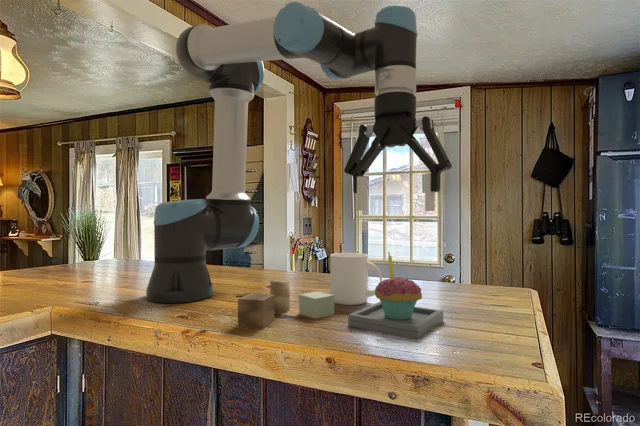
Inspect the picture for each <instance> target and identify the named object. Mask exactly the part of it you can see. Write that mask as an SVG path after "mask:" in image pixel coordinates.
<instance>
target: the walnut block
mask: <svg viewBox="0 0 640 426" xmlns="http://www.w3.org/2000/svg"><path fill="white" fill-rule="evenodd" d="M273 322H275V312H274V295H270V293H268V294H266V293H265V294H264V293H252V292H251V293H248V294H246V295H243V296H241V297H239V298H237V327H244V328H253V329H266V327H268V326H270V325H271V324H273Z"/></svg>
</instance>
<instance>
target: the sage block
mask: <svg viewBox="0 0 640 426" xmlns="http://www.w3.org/2000/svg"><path fill="white" fill-rule="evenodd" d="M298 297H299V298H298V299H299V300H298V301H299V302H298V305H299V306H298V307H299V311H298V313H299V314H300V315H302V316H306V317H309V318H311V319H320V318H324V317H330V316H334V315H335V303H334V295H331V294H330V293H326V292H323V291H318V290H317V291H313V292H305V293H302V294H301V293H299V295H298Z"/></svg>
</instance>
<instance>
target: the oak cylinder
mask: <svg viewBox="0 0 640 426" xmlns="http://www.w3.org/2000/svg"><path fill="white" fill-rule="evenodd" d="M290 282H291V281H290V280H289V279H288V280H287V279H274V280H270V283H269V284H270V286H269V289H270V290H269V295H274V313H277V314H278V313H280V314H281V313H287V311H288V312H289V311H290V301H291V300H290V299H291V298H290V291H291V290H290Z"/></svg>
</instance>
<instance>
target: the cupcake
mask: <svg viewBox="0 0 640 426" xmlns="http://www.w3.org/2000/svg"><path fill="white" fill-rule="evenodd" d="M387 253H388V256H387V258H388V261H387V262H388V267H389V268H388V269H389V274H390V278H388V279H384V280H383V279H382V282H380V281H379V283H378V284H377V285H376V286H375V289H374V290H375V295H374V296H375V297H376V299H378V300H379V302H381V304H382V307H383V310H384V314H385V316H386V317H387V318H390V319H396V320H405V319H409V318H411V316H412V312H413V309H414V307H416V304H417V302H418V301H420V300H422V298H423V295H422V288H421V287H420V286H419V285H418V284H417V283H416V282H414V281H413V280H410V279H409V278H403V277H395V272H394V265H393V258H392V257H393V256H392V255H391V253H390V251H388V252H387Z"/></svg>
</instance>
